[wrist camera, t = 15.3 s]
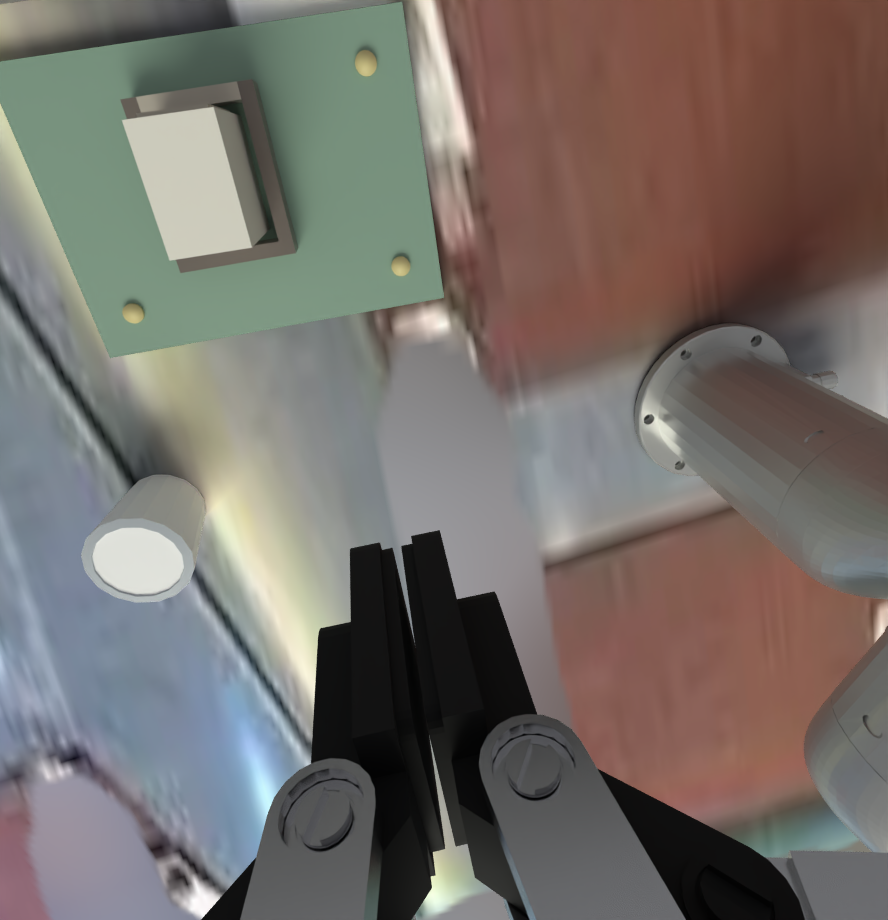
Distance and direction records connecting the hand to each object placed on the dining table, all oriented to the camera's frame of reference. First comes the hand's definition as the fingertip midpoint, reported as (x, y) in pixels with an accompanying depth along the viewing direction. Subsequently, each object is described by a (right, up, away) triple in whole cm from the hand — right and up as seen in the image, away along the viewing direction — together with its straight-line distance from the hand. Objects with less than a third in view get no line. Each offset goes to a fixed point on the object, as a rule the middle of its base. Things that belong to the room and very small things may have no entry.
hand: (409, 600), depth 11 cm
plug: (-12, +19, +23) cm, 33 cm away
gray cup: (-20, -1, +34) cm, 40 cm away
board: (-11, +19, +25) cm, 33 cm away
